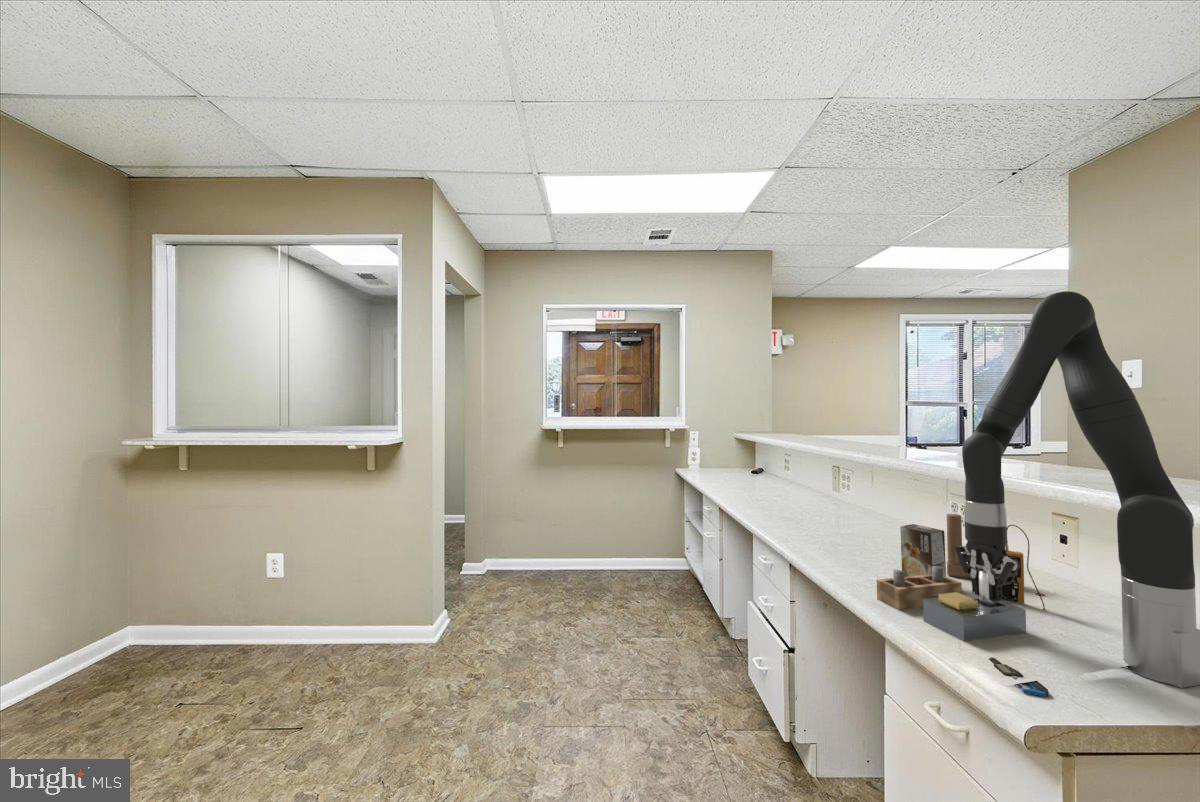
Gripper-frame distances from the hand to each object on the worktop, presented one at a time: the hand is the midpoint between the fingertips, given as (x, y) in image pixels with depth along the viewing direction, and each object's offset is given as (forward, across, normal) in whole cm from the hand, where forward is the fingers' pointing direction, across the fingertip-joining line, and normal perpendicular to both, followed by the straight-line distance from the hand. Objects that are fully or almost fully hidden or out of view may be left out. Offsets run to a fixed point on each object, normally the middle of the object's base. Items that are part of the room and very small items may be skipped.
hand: (987, 597), depth 111 cm
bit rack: (+7, +15, +4) cm, 17 cm away
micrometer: (+8, -17, +14) cm, 24 cm away
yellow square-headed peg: (+6, 0, +8) cm, 10 cm away
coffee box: (+7, +26, -9) cm, 28 cm away
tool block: (+7, 0, +4) cm, 8 cm away
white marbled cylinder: (+6, 0, 0) cm, 6 cm away
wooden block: (+7, +28, -27) cm, 40 cm away
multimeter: (+7, +9, -16) cm, 20 cm away
